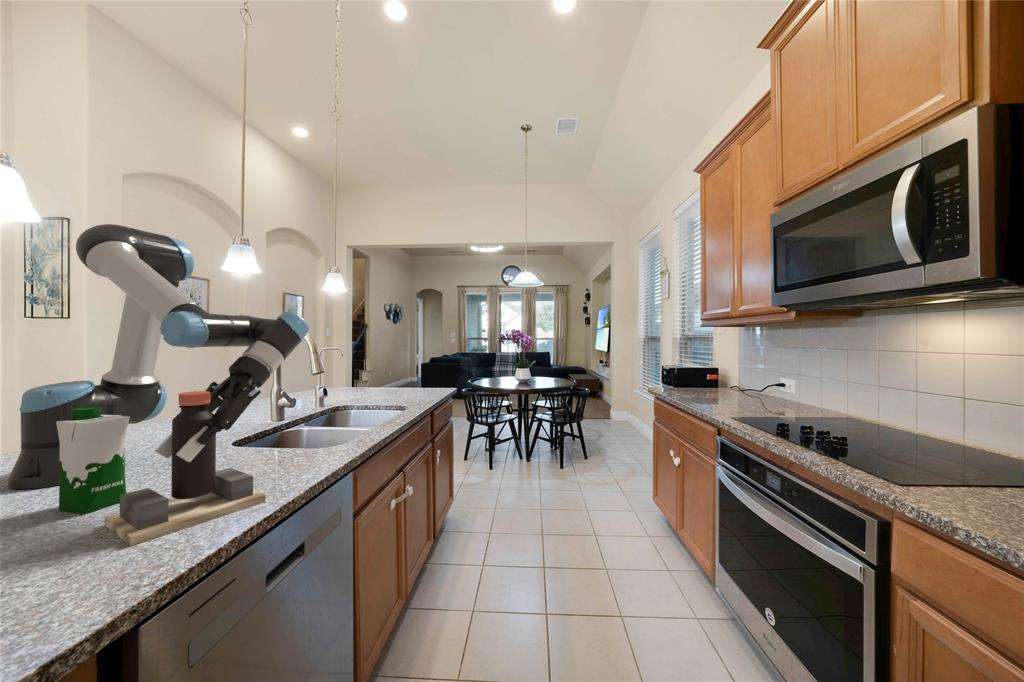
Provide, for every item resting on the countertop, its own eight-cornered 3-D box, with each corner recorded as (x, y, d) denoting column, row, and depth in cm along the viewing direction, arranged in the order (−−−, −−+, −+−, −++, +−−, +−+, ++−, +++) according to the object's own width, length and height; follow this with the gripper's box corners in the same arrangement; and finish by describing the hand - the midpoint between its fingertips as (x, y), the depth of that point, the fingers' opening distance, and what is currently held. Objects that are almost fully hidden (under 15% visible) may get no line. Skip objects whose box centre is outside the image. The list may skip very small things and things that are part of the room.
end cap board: (104, 525, 71) (104, 495, 71) (233, 488, 89) (233, 464, 89) (130, 546, 64) (130, 513, 64) (265, 501, 82) (265, 475, 82)
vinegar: (161, 499, 74) (162, 394, 73) (192, 485, 80) (193, 390, 80) (195, 500, 73) (196, 395, 73) (223, 486, 80) (224, 390, 80)
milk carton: (103, 495, 85) (104, 404, 85) (135, 498, 83) (136, 406, 83) (48, 512, 76) (49, 411, 76) (83, 516, 75) (83, 413, 75)
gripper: (296, 377, 88) (219, 472, 73) (239, 374, 95) (158, 460, 79) (274, 355, 83) (187, 451, 68) (216, 353, 90) (125, 441, 74)
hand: (172, 456), depth 74 cm, fingers closed on vinegar, 6 cm apart
